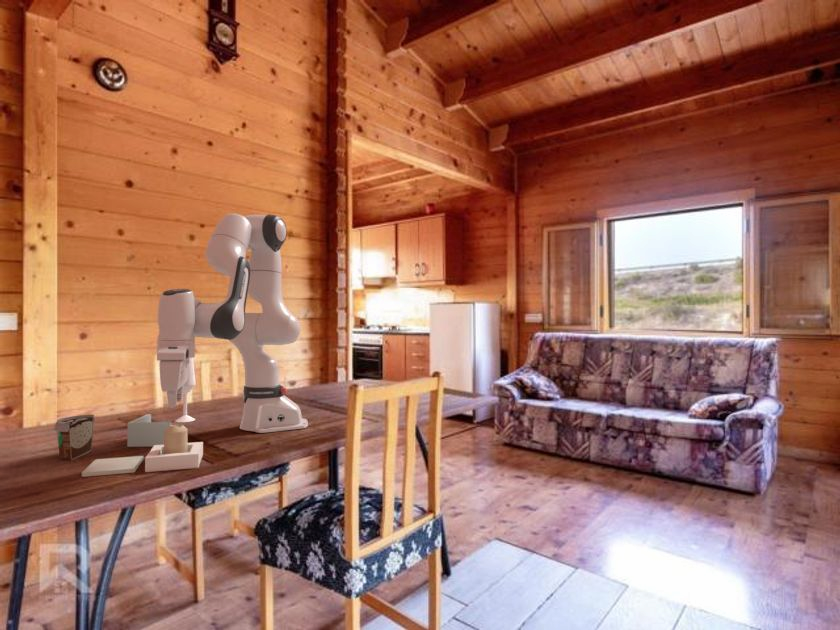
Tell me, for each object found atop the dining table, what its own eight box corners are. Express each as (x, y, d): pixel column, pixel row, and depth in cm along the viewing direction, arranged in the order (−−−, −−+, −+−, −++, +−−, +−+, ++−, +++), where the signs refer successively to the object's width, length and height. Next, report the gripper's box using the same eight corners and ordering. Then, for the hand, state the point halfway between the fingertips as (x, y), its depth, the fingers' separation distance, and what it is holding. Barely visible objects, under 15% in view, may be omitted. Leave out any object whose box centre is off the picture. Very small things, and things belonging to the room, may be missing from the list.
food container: (72, 449, 140) (72, 414, 140) (94, 449, 141) (94, 414, 141) (42, 462, 128) (42, 424, 128) (67, 462, 128) (67, 424, 128)
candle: (177, 466, 126) (178, 427, 126) (158, 465, 127) (159, 426, 127) (191, 460, 131) (192, 422, 131) (173, 459, 132) (173, 421, 132)
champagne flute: (172, 422, 174) (173, 354, 174) (177, 418, 180) (177, 352, 180) (193, 421, 175) (193, 354, 175) (197, 417, 182) (197, 352, 182)
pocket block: (202, 454, 137) (203, 441, 137) (198, 467, 125) (198, 453, 125) (154, 458, 133) (154, 445, 133) (145, 472, 121) (145, 457, 121)
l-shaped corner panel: (169, 448, 144) (170, 422, 144) (127, 448, 144) (127, 422, 144) (186, 437, 156) (186, 414, 156) (147, 437, 156) (147, 414, 156)
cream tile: (143, 459, 132) (143, 455, 132) (134, 472, 121) (134, 468, 121) (95, 463, 128) (95, 459, 128) (81, 476, 118) (81, 472, 118)
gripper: (169, 348, 137) (168, 398, 137) (155, 353, 118) (154, 411, 118) (193, 348, 140) (193, 397, 139) (184, 353, 120) (183, 410, 120)
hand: (175, 404), depth 129 cm, fingers open, 8 cm apart
